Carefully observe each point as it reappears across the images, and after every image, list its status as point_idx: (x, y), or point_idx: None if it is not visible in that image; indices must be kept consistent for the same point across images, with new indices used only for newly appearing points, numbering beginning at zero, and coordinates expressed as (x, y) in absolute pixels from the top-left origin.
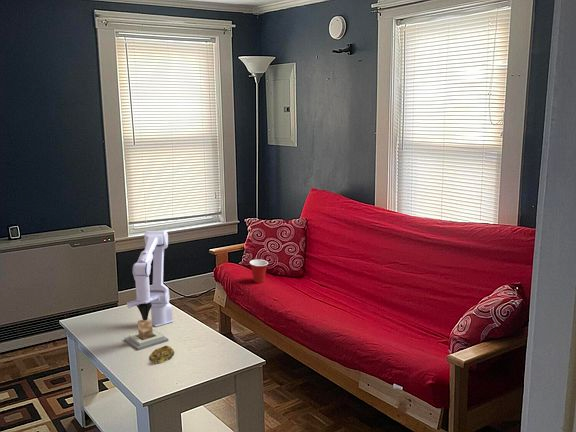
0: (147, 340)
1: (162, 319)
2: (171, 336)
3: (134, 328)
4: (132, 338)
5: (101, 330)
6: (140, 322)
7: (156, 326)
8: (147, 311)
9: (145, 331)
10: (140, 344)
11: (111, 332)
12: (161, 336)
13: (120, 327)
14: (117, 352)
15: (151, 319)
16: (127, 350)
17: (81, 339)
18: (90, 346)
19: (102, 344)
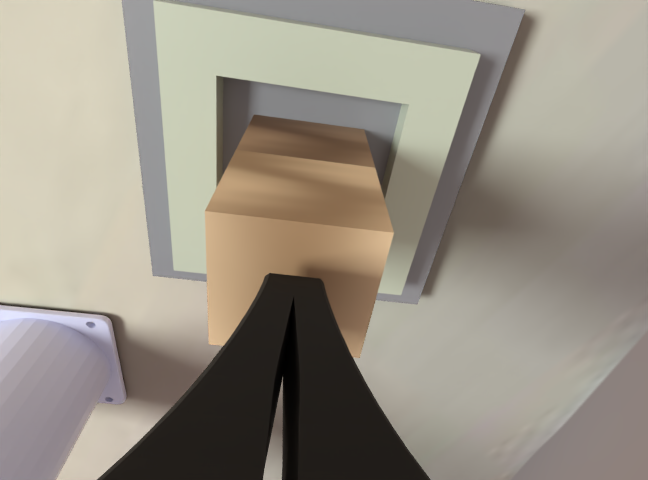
0: (373, 50)
1: (14, 346)
2: (48, 40)
3: None
4: (420, 230)
5: None
6: (375, 293)
7: (102, 315)
8: (243, 408)
9: (340, 164)
10: (470, 49)
11: None
12: (178, 15)
13: None
14: (640, 137)
15: (98, 398)
16: (566, 102)
17: (544, 441)
18: (610, 355)
19: (551, 332)
